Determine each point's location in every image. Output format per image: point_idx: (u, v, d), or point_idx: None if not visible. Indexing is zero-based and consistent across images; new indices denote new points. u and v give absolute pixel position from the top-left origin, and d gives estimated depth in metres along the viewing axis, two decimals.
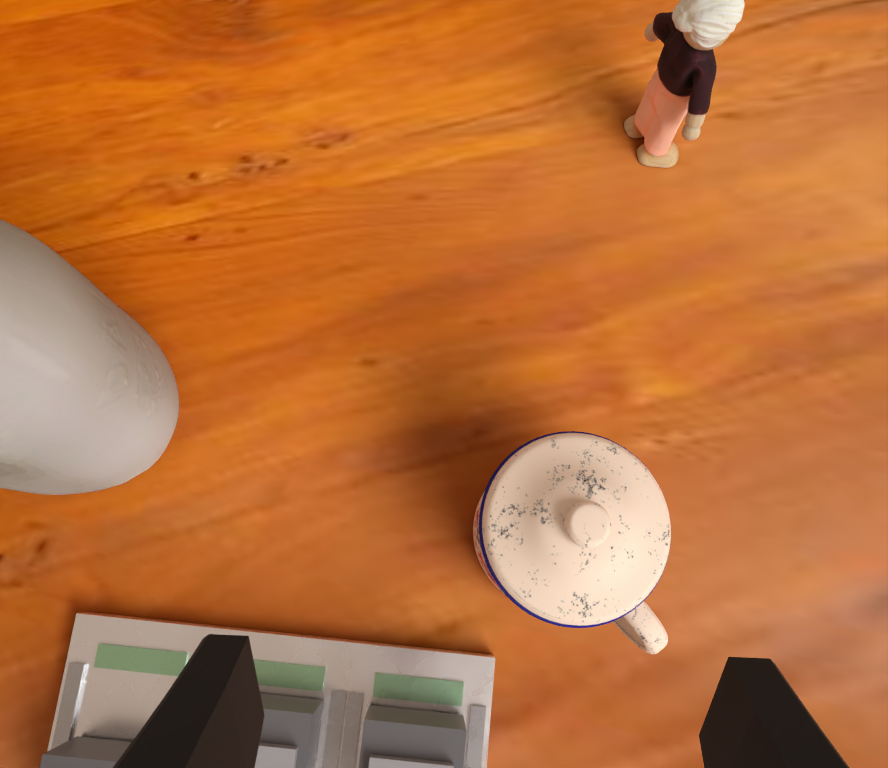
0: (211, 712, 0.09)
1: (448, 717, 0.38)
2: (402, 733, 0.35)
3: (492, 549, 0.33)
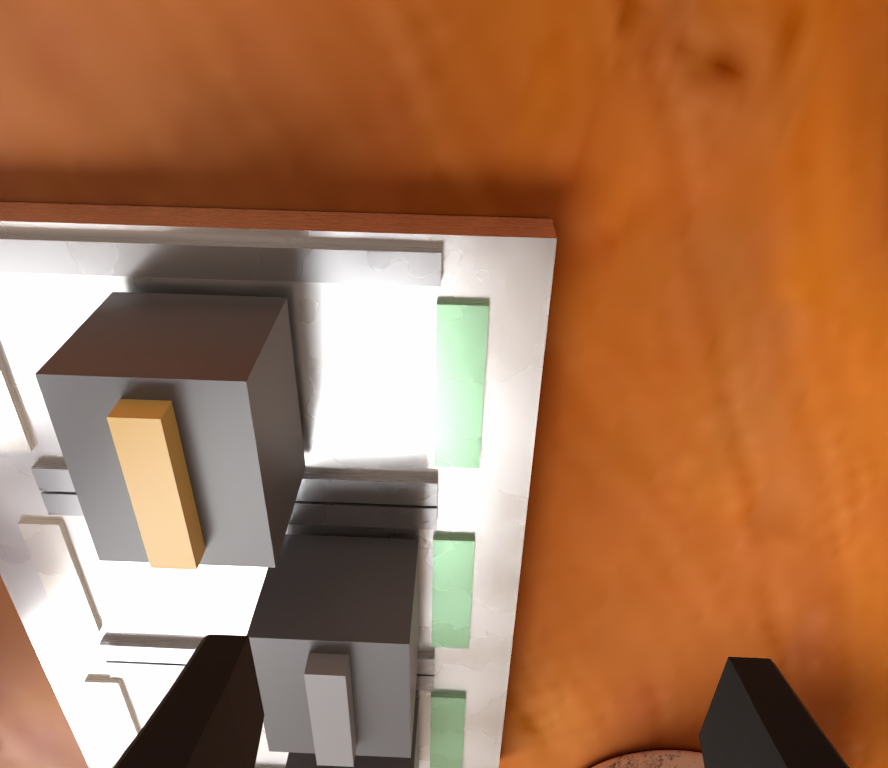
0: (211, 712, 0.09)
1: None
2: None
3: None
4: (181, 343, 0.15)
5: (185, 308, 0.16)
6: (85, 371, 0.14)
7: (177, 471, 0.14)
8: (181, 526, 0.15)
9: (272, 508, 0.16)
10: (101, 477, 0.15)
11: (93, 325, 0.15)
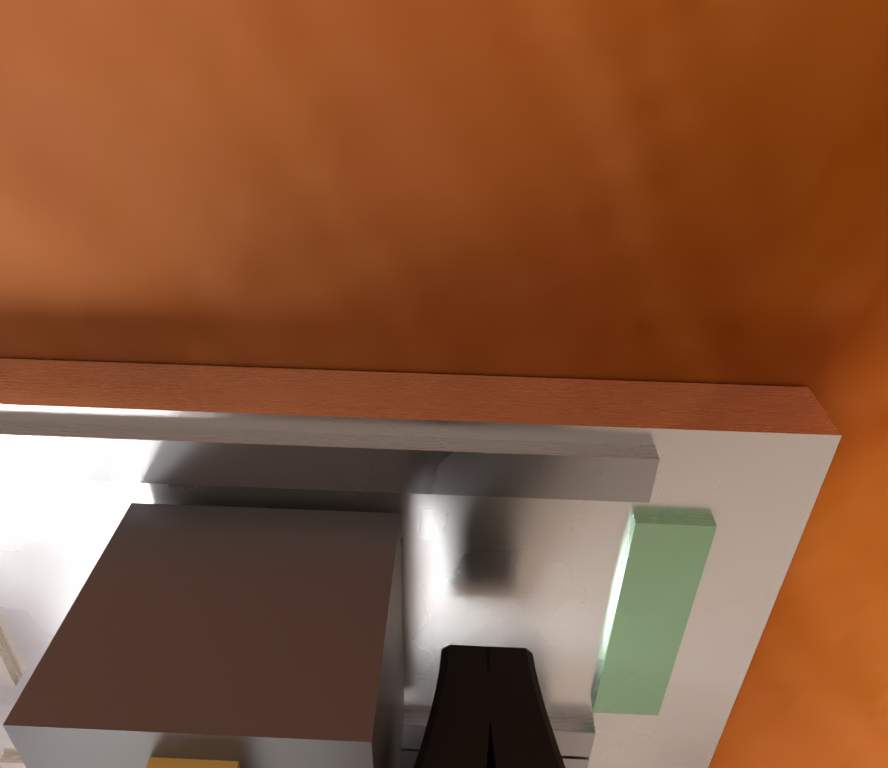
0: (488, 725, 0.09)
1: None
2: None
3: None
4: (249, 633, 0.09)
5: (247, 543, 0.10)
6: (90, 715, 0.08)
7: None
8: None
9: None
10: None
11: (102, 588, 0.09)
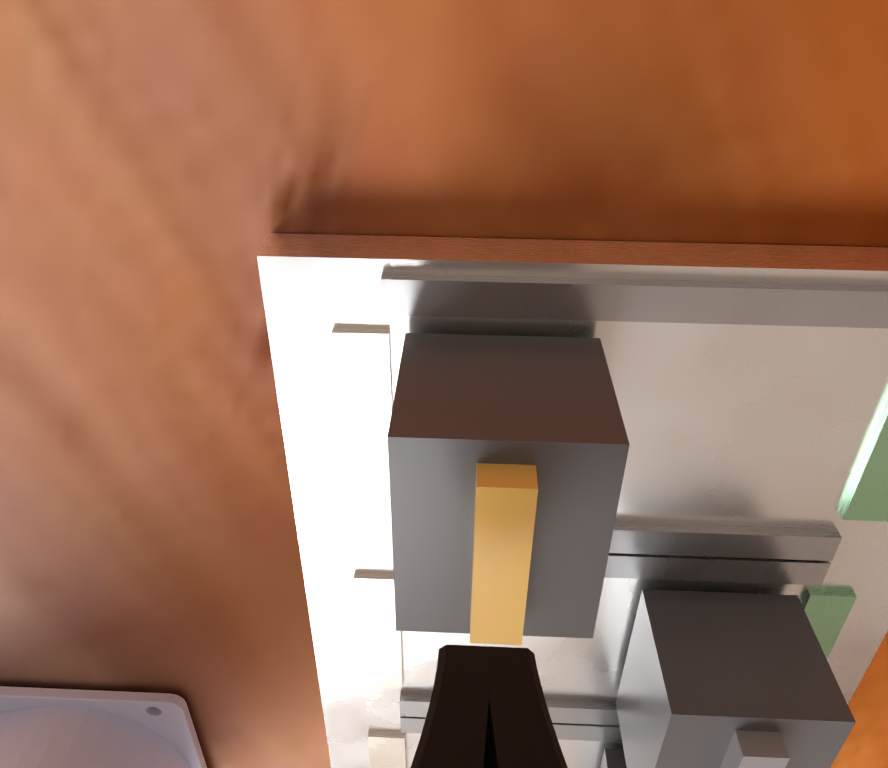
0: (485, 726, 0.09)
1: None
2: None
3: None
4: (524, 396, 0.13)
5: (499, 353, 0.14)
6: (441, 432, 0.12)
7: (530, 542, 0.13)
8: (521, 600, 0.13)
9: None
10: (427, 545, 0.13)
11: (412, 375, 0.14)
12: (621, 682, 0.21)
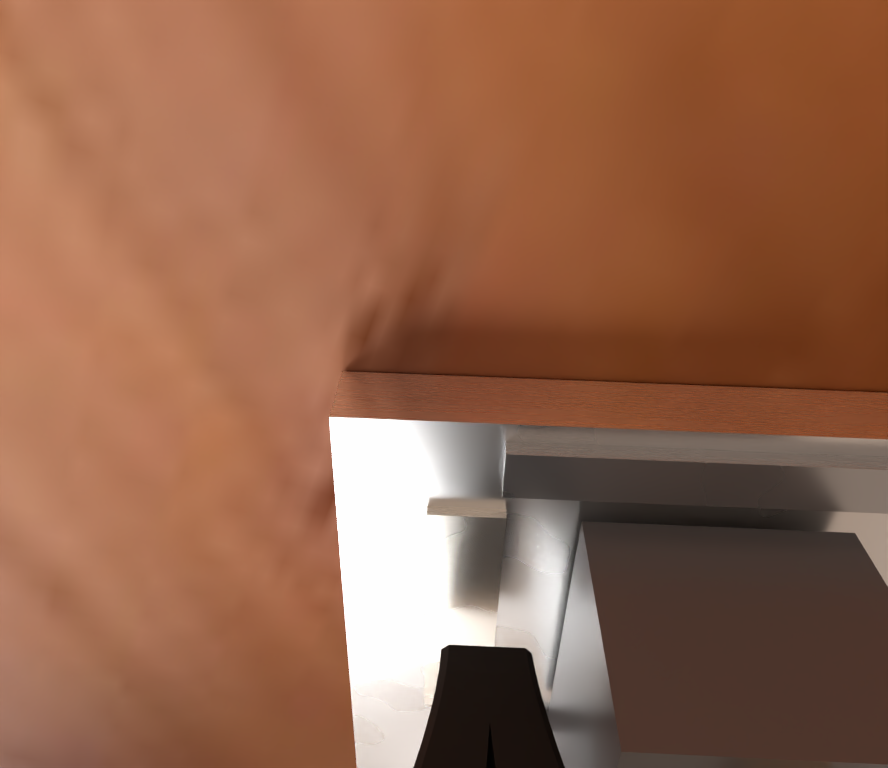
0: (488, 725, 0.09)
1: None
2: None
3: None
4: (797, 656, 0.09)
5: (727, 563, 0.10)
6: (701, 742, 0.08)
7: None
8: None
9: None
10: None
11: (617, 609, 0.09)
12: None
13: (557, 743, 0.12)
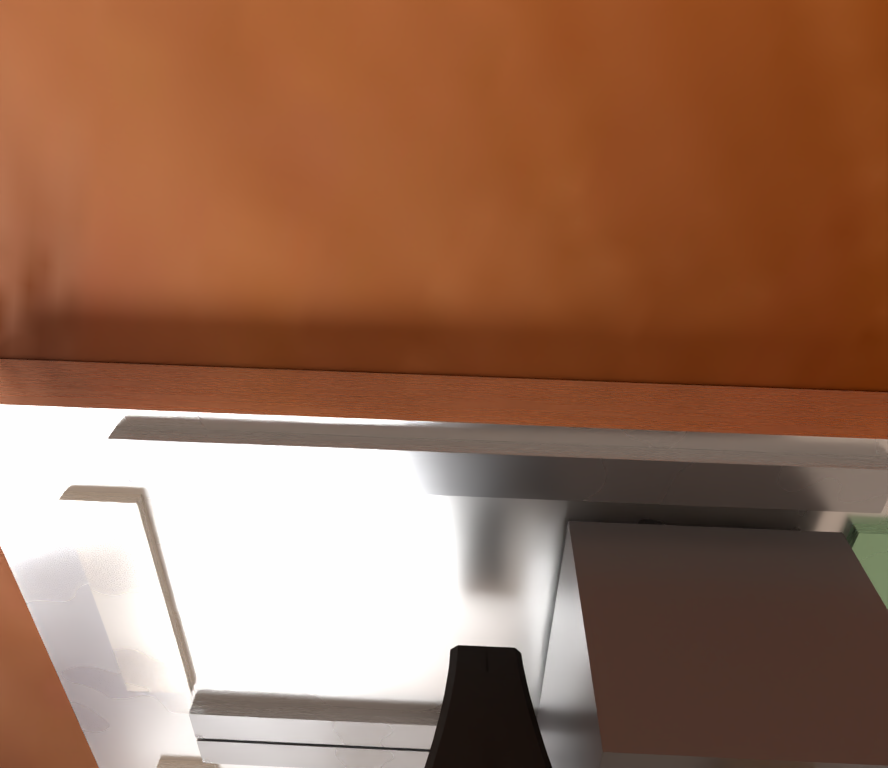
0: (498, 726, 0.09)
1: None
2: None
3: None
4: (780, 656, 0.09)
5: (713, 563, 0.10)
6: (683, 742, 0.08)
7: None
8: None
9: None
10: None
11: (602, 608, 0.09)
12: None
13: (546, 743, 0.12)
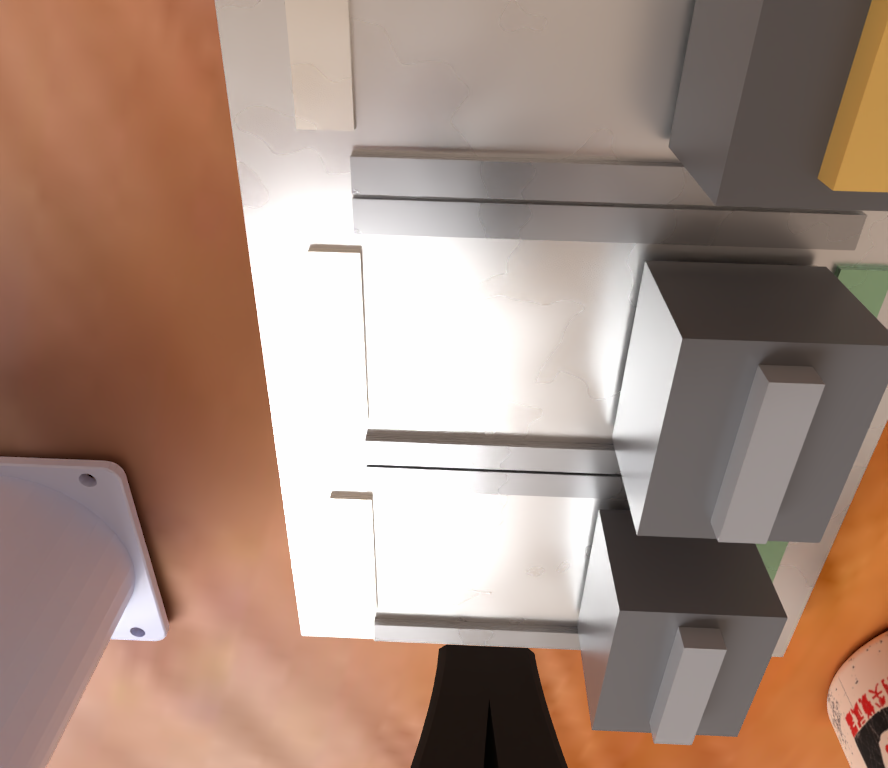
0: (485, 726, 0.09)
1: None
2: (748, 666, 0.18)
3: None
4: None
5: None
6: None
7: None
8: None
9: None
10: (800, 40, 0.10)
11: None
12: (619, 405, 0.18)
13: (689, 112, 0.13)
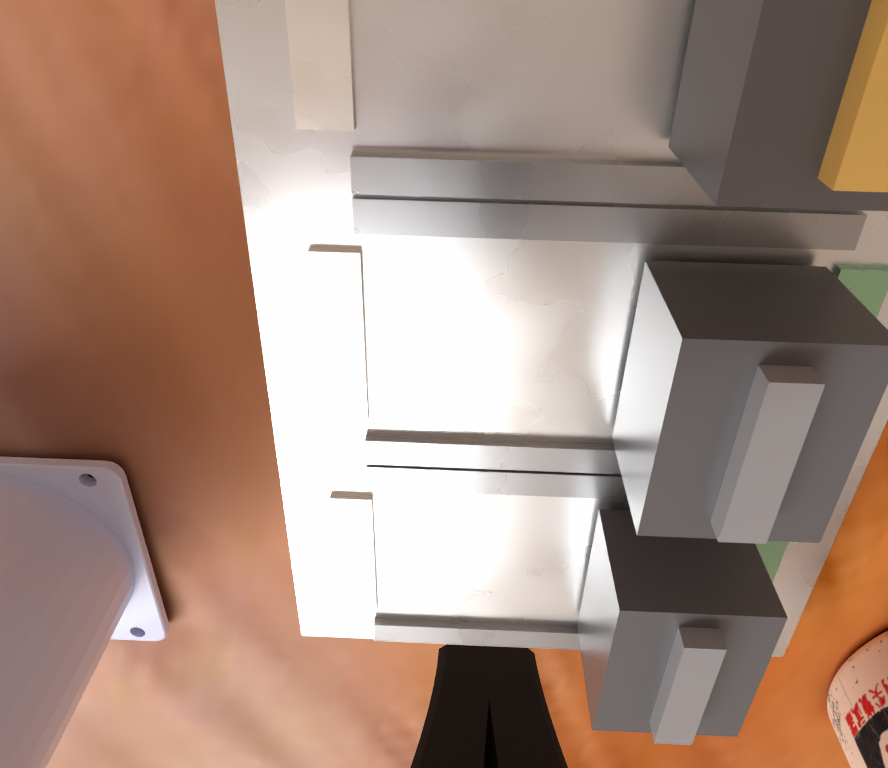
0: (485, 726, 0.09)
1: None
2: (748, 666, 0.18)
3: None
4: None
5: None
6: None
7: None
8: None
9: None
10: (800, 40, 0.10)
11: None
12: (619, 405, 0.18)
13: (689, 112, 0.13)
